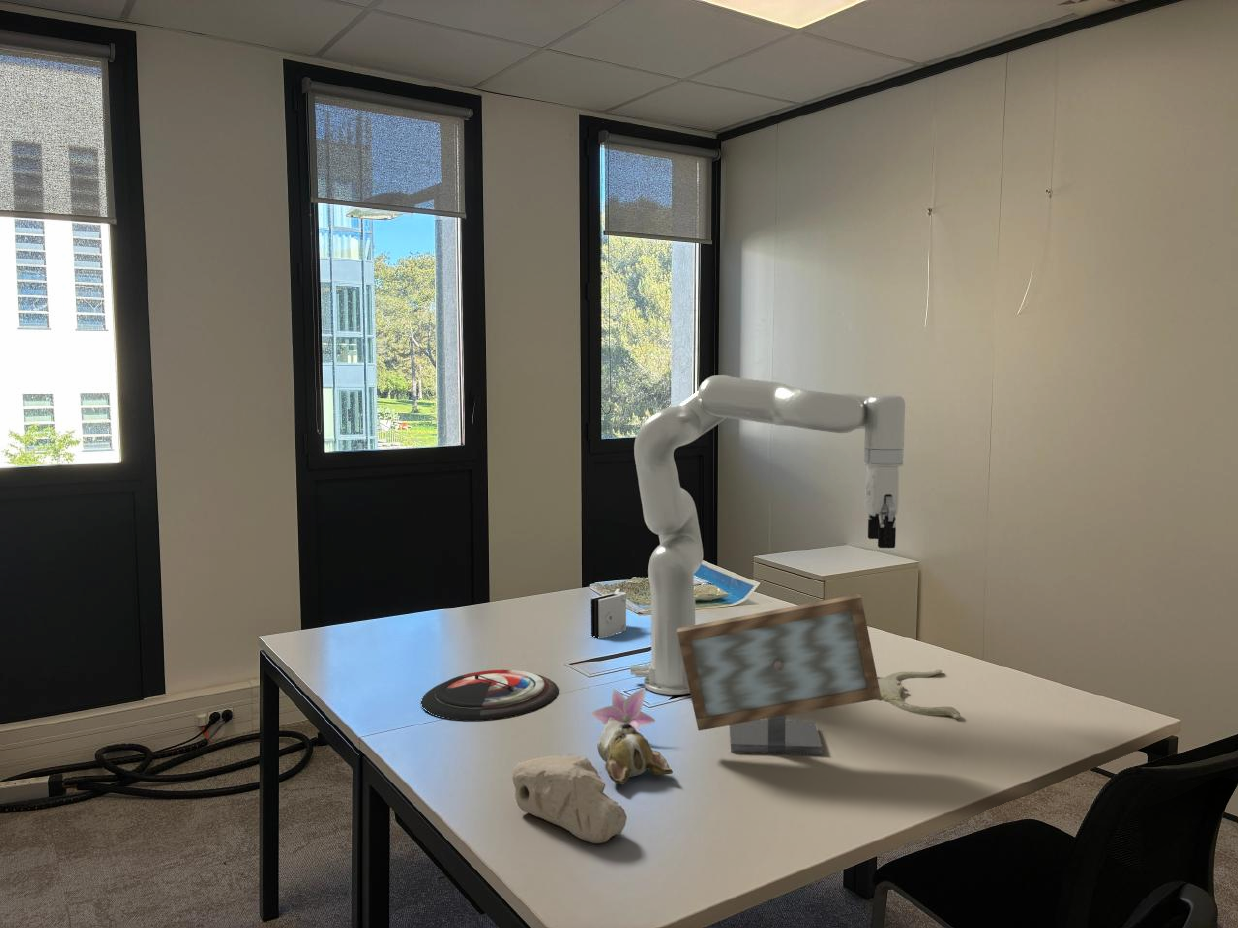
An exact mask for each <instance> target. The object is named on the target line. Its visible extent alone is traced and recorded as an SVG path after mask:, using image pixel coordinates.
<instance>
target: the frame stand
mask: <svg viewBox="0 0 1238 928" xmlns="http://www.w3.org/2000/svg"><path fill="white" fill-rule="evenodd" d="M729 739H730V740H729V742H730V752H731V753H741V754H742V753H744V754H745V753H746V754H779V755H780V754H783V755H807V756H808V755H811V756H822V755H823V744H822V741H821V738H820V735H819V731H818V728H817V724H816V722H815V720H814V721H813V720H812V721H809V720H786V715H784V716H779V717H773V718H767V719H762V720H756V721H750V722H745V723H739V724H733V725H729Z"/></svg>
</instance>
